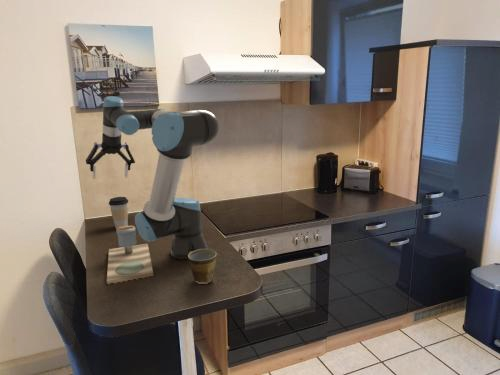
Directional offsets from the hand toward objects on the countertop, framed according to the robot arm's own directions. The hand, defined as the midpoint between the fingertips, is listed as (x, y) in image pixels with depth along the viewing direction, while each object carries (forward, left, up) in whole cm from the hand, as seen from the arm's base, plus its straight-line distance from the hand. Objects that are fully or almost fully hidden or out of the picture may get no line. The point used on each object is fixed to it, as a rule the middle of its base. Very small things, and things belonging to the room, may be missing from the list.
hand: (110, 176), depth 172 cm
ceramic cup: (-59, +19, -30) cm, 69 cm away
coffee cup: (+10, -12, -30) cm, 34 cm away
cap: (-19, +13, -24) cm, 33 cm away
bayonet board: (-25, +19, -30) cm, 43 cm away
